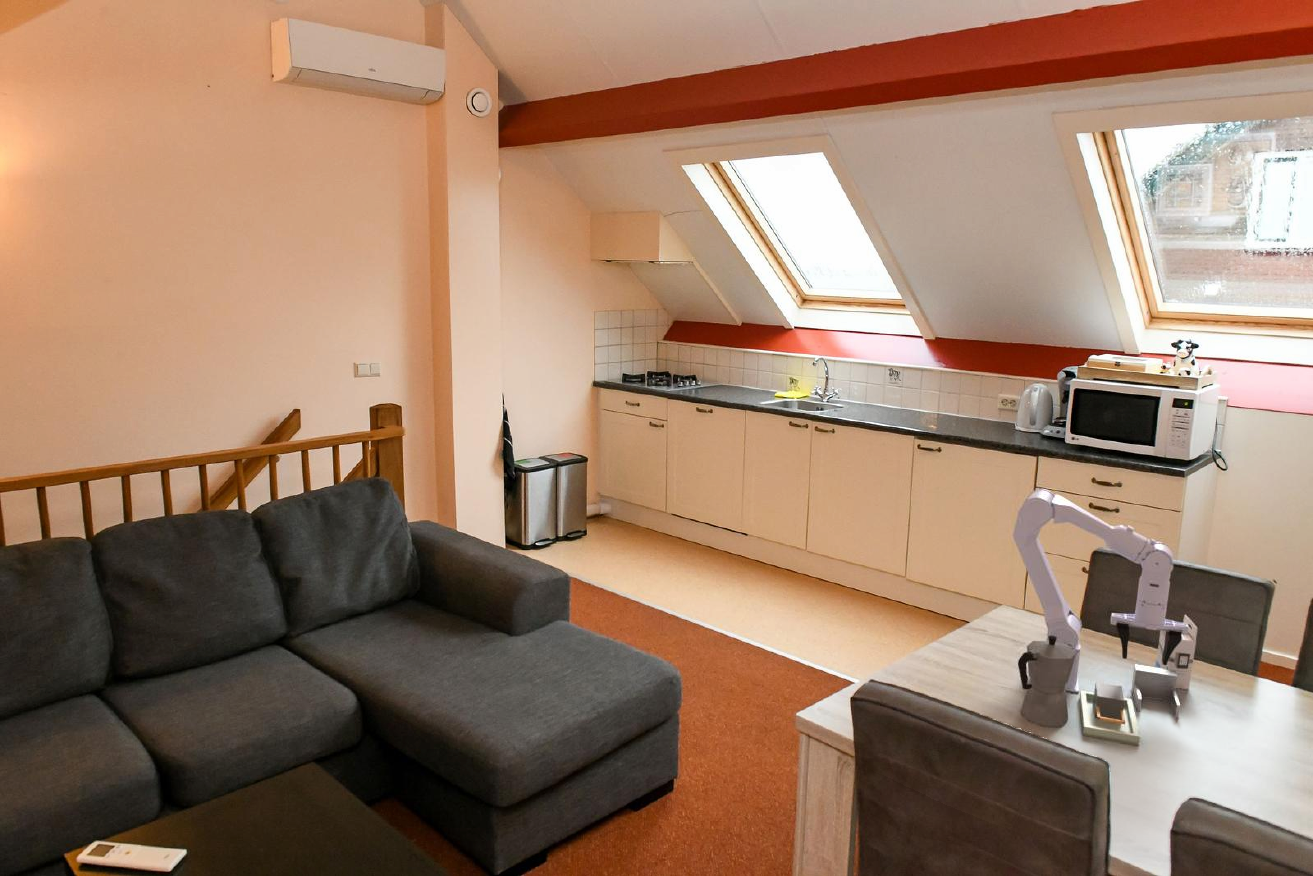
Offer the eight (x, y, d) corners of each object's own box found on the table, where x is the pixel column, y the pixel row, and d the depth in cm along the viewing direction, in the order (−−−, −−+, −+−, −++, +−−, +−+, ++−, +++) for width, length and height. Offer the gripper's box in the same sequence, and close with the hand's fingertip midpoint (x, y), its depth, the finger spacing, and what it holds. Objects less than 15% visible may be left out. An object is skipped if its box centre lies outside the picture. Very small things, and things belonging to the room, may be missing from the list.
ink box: (1153, 671, 217) (1161, 611, 214) (1176, 673, 216) (1185, 613, 213) (1165, 687, 209) (1174, 625, 206) (1189, 690, 208) (1198, 628, 205)
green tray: (1083, 735, 187) (1084, 726, 187) (1079, 698, 202) (1080, 690, 202) (1138, 746, 183) (1140, 736, 183) (1130, 707, 199) (1131, 699, 198)
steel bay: (1136, 711, 197) (1139, 685, 196) (1131, 689, 207) (1134, 664, 206) (1179, 719, 194) (1182, 692, 193) (1171, 696, 204) (1175, 670, 203)
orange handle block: (1096, 729, 188) (1099, 706, 187) (1092, 703, 199) (1095, 681, 198) (1123, 734, 186) (1126, 711, 185) (1118, 708, 197) (1121, 686, 196)
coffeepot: (1048, 700, 201) (1057, 622, 198) (1085, 720, 193) (1094, 639, 189) (995, 715, 195) (1003, 634, 191) (1031, 736, 186) (1040, 652, 183)
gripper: (1115, 601, 197) (1108, 661, 199) (1193, 612, 191) (1185, 673, 194) (1113, 590, 203) (1106, 648, 206) (1188, 600, 198) (1180, 660, 201)
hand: (1144, 660), depth 200 cm, fingers open, 7 cm apart
